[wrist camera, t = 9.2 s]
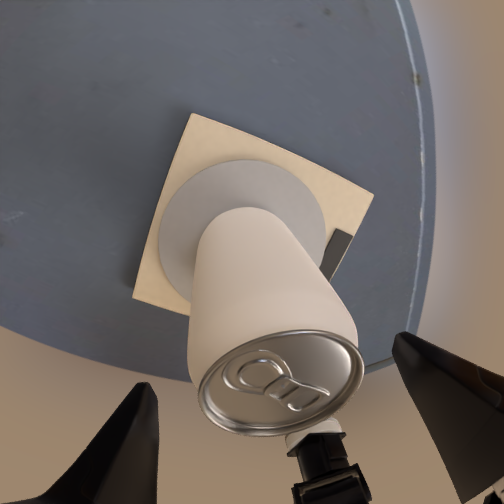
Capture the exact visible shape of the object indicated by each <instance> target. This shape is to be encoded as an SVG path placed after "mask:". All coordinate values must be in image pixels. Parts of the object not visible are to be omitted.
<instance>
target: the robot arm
mask: <svg viewBox="0 0 504 504" xmlns="http://www.w3.org/2000/svg"><path fill="white" fill-rule="evenodd" d="M392 355H393V357H394V360H395V362H396V364H397V367H398V369H399V372H400V374H401V377H402V379H403V382H404V384H405V386H406V388H407V390H408V392H409V394H410V396H411V397H412V399H413V401H414V403H415V405H416V407H417V409H418V411H419V413H420V414H421V417H422V419H423V421H424V423H425V424H426V426H427V428H428V430H429V433H430V435H431V437H432V439H433V440H434V443H435V445H436V447H437V449H438V451H439V453H440V455H441V458H442V460H443V462H444V464H445V466H446V469H447V471H448V473H449V476H450V478H451V480H452V482H453V485H454V487H455V489H456V492H457V494H458V497H459V499H460V501H461V503H462V504H464V503H466V502H467V501H469V500H470V499H472V498H474V497H475V496H477V495H478V494H480V493H481V492H483V491H484V490H485V489H487V488H489V487H490V486H491V485H492V487H493V489H494V490H493V491H492V492H491V493H490V494H489V495H487V496H486V497H485V499H484V503H483V504H504V377H503V376H501V375H498V374H495V373H493V372H491V371H489V370H486V369H484V368H482V367H480V366H477V365H476V364H474V363H471V362H469V361H467V360H465V359H463V358H461V357H459V356H457V355H454V354H452V353H450V352H448V351H446V350H444V349H442V348H440V347H438V346H436V345H434V344H431V343H430V342H427V341H425V340H423V339H421V338H419V337H417V336H415V335H413V334H411V333H409V332H406V331H405V332H401V333H398V334H397V335H396V336H395V339H394V344H393V348H392ZM345 436H346V433H345V432H337V433H309V434H307V435H306V436H305V437H304V438H303V439H302V440H301V441H300V442H299V443H298V444H297V445H296V446H294V447H293V448H292V449H291V450H290V451H289V452H288V453H287V456H288V457H297V459H298V463H299V467H300V471H301V474H302V478H303V482H302V483H296V484H294V487H293V488H291V490H292V494H293V498H294V504H369V503H368V502H369V501H372V497H371V493H370V490H369V487H368V485H367V483H366V481H365V478H364V476H363V474H362V472H361V470H360V468H359V465H358V463H356V464H353V465H352V466H349V463H348V460H347V457H348V456H347V454H346V451H345V448H344V446H343V443H342V441H341V440H342V439H343V438H344V437H345ZM158 450H159V422H158V400H157V396H156V395H155V393H154V391H153V389H152V387H151V385H150V384H149V383H148V382H141V383H137V384H136V385H135V386H134V388H133V389H132V390H131V391H130V392H129V394H128V395H127V396H126V397H125V399H124V400H123V401H122V403H121V404H120V405H119V406H118V408H117V409H116V410H115V411H114V413H113V414H112V415H111V416H110V418H109V419H108V420H107V422H106V423H105V424H104V425H103V427H102V428H101V429H100V430H99V432H98V433H97V434H96V436H95V437H94V438H93V439H92V441H91V442H90V443H89V445H88V446H87V447H86V449H85V450H84V451H83V452H82V453H81V455H80V456H79V457H78V458H77V460H76V461H75V462H74V463H73V464H72V465H71V467H70V468H69V469H68V470H67V471H66V472H65V473H64V474H63V475H62V476H61V477H60V478H59V479H58V480H57V481H56V482H55V483H54V484H53V485H52V486H51V487H50V488H49V489H48V490H47V491H46V492H45V493H43V494H42V495H40V496H38V497H35V498H31V499H26V500H21V501H15V502H10V503H3V504H157V473H158Z"/></svg>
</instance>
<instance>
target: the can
mask: <svg viewBox="0 0 504 504" xmlns="http://www.w3.org/2000/svg"><path fill="white" fill-rule="evenodd" d="M187 362H188V371H189V375H190V377H191V380H192V382H193V384H194V386H195V388H196V389H197V391H198V402H199V405H200V408H201V410H202V412H203V413H204V415H205V416H206V417H207V418H208V419H209V420H210V421H211V422H212V423H213V424H215V425H216V426H218V427H220V428H222V429H224V430H226V431H229V432H232V433H235V434H239V435H244V436H252V437H274V436H281V435H287V434H291V433H295V432H299V431H302V430H305V429H308V428H310V427H312V426H315V425H317V424H319V423H321V422H323V421H325V420H326V419H328V418H330V417H331V416H333V415H334V414H335V413H337V412H338V411H339V410H340V409H342V408H343V407H344V406H345V405H346V404H347V403H348V402H349V401H350V399H352V397H353V396H354V395H355V393H356V392H357V390H358V388H359V386H360V384H361V382H362V379H363V375H364V360H363V357H362V355H361V353H360V351H359V349H358V337H357V330H356V326H355V324H354V321H353V319H352V317H351V315H350V313H349V312H348V310H347V309H346V307H345V305H344V304H343V302H342V301H341V299H340V298H339V297H338V295H337V294H336V292H335V291H334V289H333V288H332V286H331V285H330V284H329V282H328V281H327V279H326V278H325V277H324V275H323V274H322V272H321V271H320V270H319V268H318V267H317V266H316V264H315V263H314V262H313V260H312V259H311V257H310V256H309V255H308V253H307V252H306V251H305V249H304V248H303V247H302V245H301V244H300V243H299V241H298V240H297V239H296V238H295V236H294V235H293V234H292V232H291V231H290V230H289V229H288V227H287V226H286V225H285V224H284V223H283V222H282V221H281V220H280V219H279V218H278V217H277V216H275V215H274V214H272V213H270V212H268V211H266V210H263V209H260V208H254V207H241V208H236V209H232V210H229V211H226V212H224V213H222V214H220V215H219V216H217V217H216V218H215V219H214V220H213V221H212V222H211V223H210V224H209V225H208V226H207V228H206V229H205V231H204V233H203V234H202V236H201V239H200V241H199V244H198V249H197V256H196V263H195V271H194V279H193V288H192V298H191V308H190V319H189V331H188V347H187Z"/></svg>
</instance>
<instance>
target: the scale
mask: <svg viewBox="0 0 504 504" xmlns="http://www.w3.org/2000/svg"><path fill="white" fill-rule="evenodd" d="M373 197H374V195H373V194H372V193H370V192H368V191H366V190H365V189H363V188H361V187H359V186H357V185H356V184H354V183H352V182H350V181H348V180H346V179H344V178H343V177H341V176H339V175H337V174H335V173H333V172H331V171H329V170H327V169H325V168H323V167H321V166H319V165H317V164H315V163H313V162H311V161H309V160H307V159H305V158H303V157H300V156H298V155H296V154H294V153H292V152H290V151H287V150H285V149H283V148H281V147H278V146H276V145H274V144H272V143H269V142H267V141H265V140H262V139H260V138H258V137H255V136H253V135H250V134H248V133H245V132H243V131H240V130H238V129H235V128H233V127H230V126H228V125H225V124H222V123H220V122H217V121H214V120H211V119H209V118H206V117H203V116H200V115H197V114H194V113H191V115H190V118H189V120H188V123H187V125H186V127H185V130H184V132H183V135H182V137H181V140H180V143H179V145H178V148H177V150H176V153H175V156H174V158H173V161H172V164H171V166H170V169H169V172H168V175H167V178H166V181H165V183H164V186H163V189H162V192H161V195H160V198H159V201H158V205H157V208H156V211H155V214H154V217H153V221H152V224H151V227H150V231H149V234H148V238H147V241H146V245H145V248H144V252H143V256H142V259H141V263H140V267H139V271H138V275H137V279H136V283H135V288H134V292H133V296H132V297H133V298H134V299H137V300H140V301H143V302H146V303H149V304H152V305H156V306H159V307H162V308H165V309H168V310H171V311H175V312H178V313H181V314H185V315H188V316H190V308H191V298H192V288H193V279H194V271H195V263H196V256H197V249H198V244H199V241H200V239H201V236H202V234H203V233H204V231H205V229H206V228H207V226H208V225H209V224H210V223H211V222H212V221H213V220H214V219H215V218H216V217H217V216H219V215H220V214H222V213H224V212H226V211H229V210H232V209H236V208H241V207H254V208H260V209H263V210H266V211H268V212H270V213H272V214H274V215H275V216H277V217H278V218H279V219H280V220H281V221H282V222H283V223H284V224H285V225H286V226H287V227H288V229H289V230H290V231H291V232H292V234H293V235H294V236H295V238H296V239H297V240H298V241H299V243H300V244H301V245H302V247H303V248H304V249H305V251H306V252H307V253H308V255H309V256H310V257H311V259H312V260H313V262H314V263H315V264H316V266H317V267H318V268H319V270H320V271H321V272H322V274H323V275H324V277H325V278H326V279H327V281H328V282H330V280H331V279H332V277H333V275H334V273H335V271H336V269H337V268H338V266H339V264H340V262H341V260H342V258H343V256H344V255H345V253H346V251H347V249H348V247H349V245H350V243H351V241H352V239H353V237H354V235H355V233H356V231H357V230H358V228H359V226H360V224H361V222H362V220H363V217H364V215H365V213H366V211H367V209H368V207H369V205H370V203H371V201H372V199H373Z"/></svg>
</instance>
